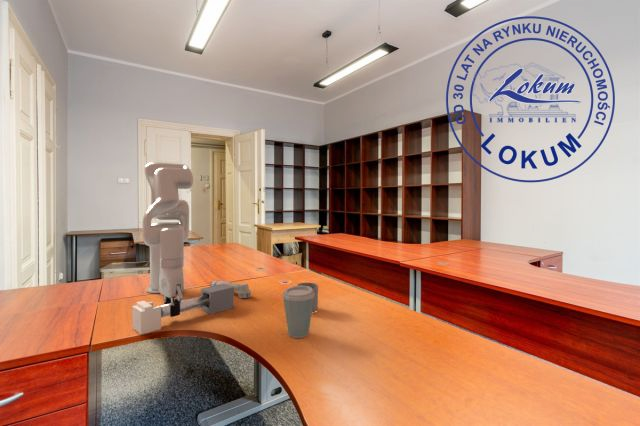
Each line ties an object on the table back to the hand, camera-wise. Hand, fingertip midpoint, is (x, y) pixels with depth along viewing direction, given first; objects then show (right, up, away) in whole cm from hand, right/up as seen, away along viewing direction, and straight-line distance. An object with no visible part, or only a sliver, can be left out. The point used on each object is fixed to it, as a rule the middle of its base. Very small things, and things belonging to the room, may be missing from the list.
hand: (172, 313), depth 111 cm
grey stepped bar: (+11, -2, +34) cm, 36 cm away
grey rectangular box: (+12, -2, +13) cm, 18 cm away
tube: (+3, 0, +3) cm, 5 cm away
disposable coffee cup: (+45, -4, -8) cm, 46 cm away
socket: (-5, -3, -6) cm, 8 cm away
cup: (+47, -3, +14) cm, 49 cm away
